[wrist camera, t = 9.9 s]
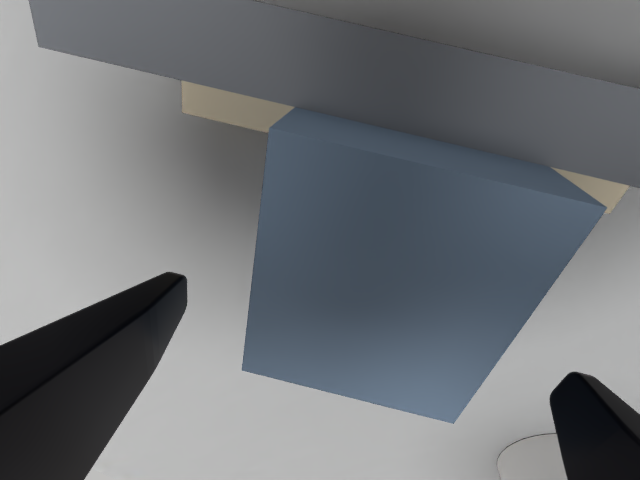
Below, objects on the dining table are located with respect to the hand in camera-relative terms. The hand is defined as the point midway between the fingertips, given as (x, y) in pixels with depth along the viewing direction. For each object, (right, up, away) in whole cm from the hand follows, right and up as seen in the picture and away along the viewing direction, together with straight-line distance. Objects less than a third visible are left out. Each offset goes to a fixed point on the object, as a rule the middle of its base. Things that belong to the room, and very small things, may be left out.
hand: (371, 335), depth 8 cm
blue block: (+1, +4, +7) cm, 9 cm away
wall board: (+2, +8, +5) cm, 10 cm away
